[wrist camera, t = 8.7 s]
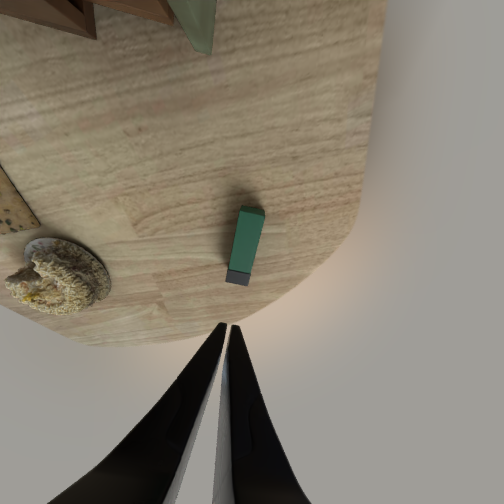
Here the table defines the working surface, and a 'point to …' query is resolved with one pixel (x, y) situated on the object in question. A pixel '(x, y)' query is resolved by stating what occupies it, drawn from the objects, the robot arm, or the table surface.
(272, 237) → the table surface
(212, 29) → the drawer
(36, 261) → the cake
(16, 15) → the cabinet
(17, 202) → the cookie
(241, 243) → the green marker
